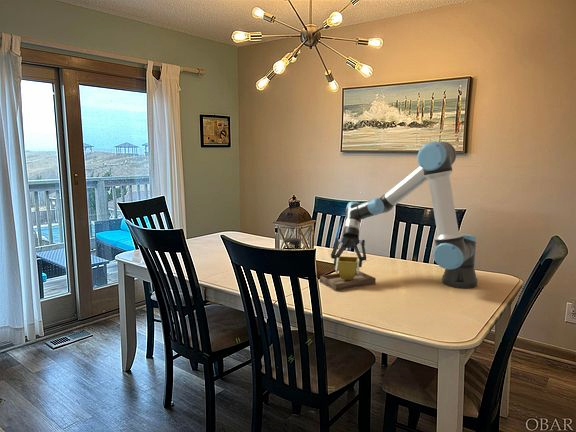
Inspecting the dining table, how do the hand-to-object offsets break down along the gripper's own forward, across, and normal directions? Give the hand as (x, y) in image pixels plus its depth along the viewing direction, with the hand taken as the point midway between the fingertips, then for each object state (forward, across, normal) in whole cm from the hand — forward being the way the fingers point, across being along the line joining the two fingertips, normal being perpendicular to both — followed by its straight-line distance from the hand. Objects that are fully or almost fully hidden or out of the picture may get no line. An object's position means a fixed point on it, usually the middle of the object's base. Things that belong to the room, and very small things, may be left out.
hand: (346, 272), depth 198 cm
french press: (-6, +28, -15) cm, 33 cm away
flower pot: (+1, 0, -5) cm, 5 cm away
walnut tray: (+2, 0, -7) cm, 7 cm away
